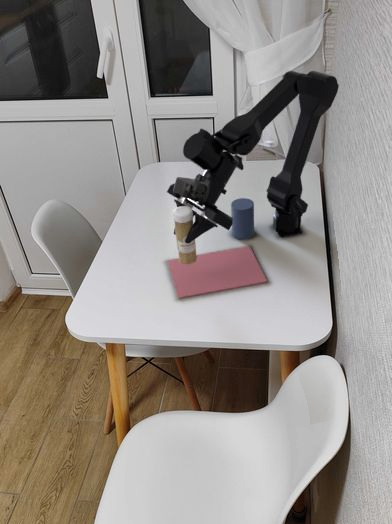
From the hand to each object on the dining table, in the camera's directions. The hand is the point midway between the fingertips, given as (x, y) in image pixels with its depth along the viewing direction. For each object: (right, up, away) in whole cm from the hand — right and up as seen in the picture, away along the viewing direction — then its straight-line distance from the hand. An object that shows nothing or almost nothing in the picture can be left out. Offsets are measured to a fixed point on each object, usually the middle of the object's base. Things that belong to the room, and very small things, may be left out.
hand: (180, 238), depth 124 cm
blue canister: (+16, +6, +22) cm, 28 cm away
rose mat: (+9, -6, +10) cm, 15 cm away
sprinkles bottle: (+2, -4, +5) cm, 7 cm away
